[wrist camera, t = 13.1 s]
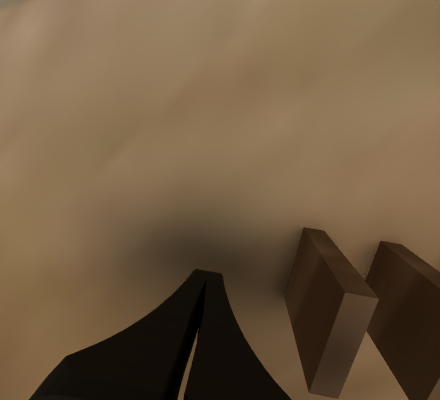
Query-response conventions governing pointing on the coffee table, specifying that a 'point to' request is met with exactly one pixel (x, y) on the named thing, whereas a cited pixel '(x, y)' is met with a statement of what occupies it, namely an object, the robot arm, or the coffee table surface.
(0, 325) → the coffee table surface
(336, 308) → the domino
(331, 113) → the coffee table surface
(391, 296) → the domino
